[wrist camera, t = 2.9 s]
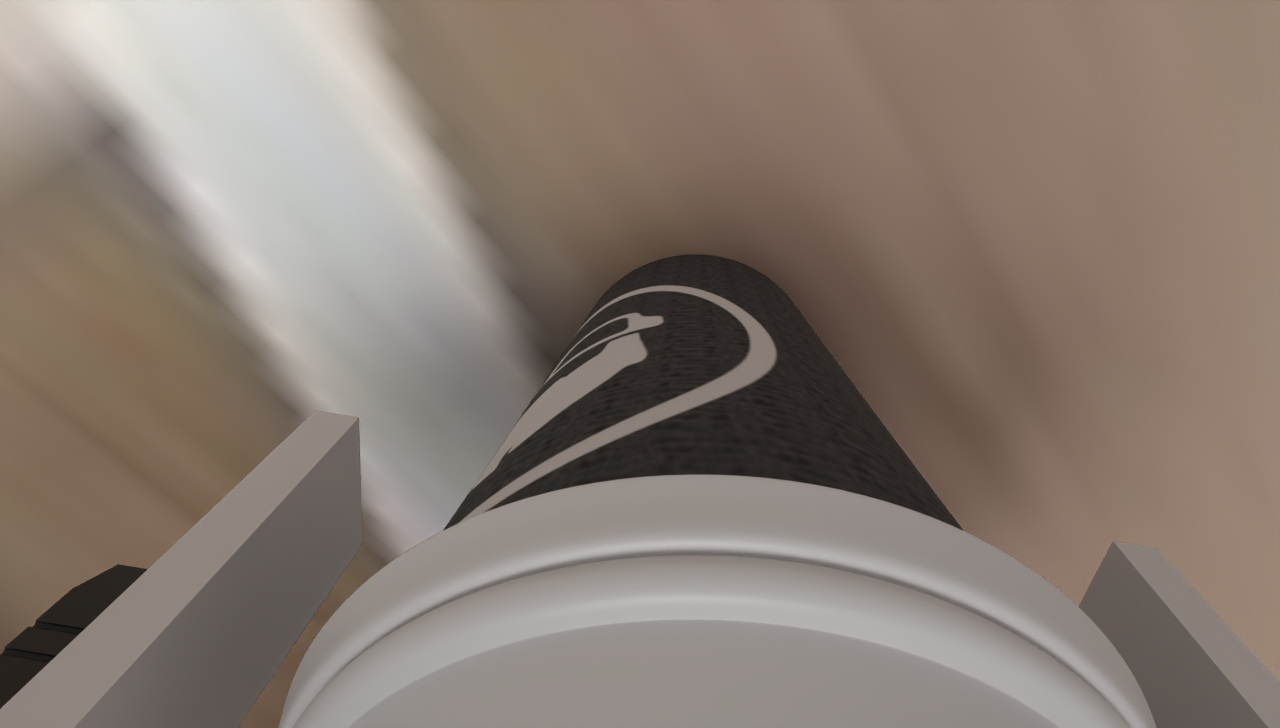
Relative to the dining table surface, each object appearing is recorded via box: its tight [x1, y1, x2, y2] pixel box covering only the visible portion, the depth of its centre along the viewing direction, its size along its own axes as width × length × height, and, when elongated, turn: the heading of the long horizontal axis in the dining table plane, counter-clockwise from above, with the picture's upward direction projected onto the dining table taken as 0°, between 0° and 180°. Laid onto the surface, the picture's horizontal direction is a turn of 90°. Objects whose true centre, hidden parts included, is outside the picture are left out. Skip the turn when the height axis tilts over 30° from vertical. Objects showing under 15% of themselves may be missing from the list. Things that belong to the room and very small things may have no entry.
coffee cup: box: [278, 255, 1157, 728], centre depth 13 cm, size 10×10×15 cm
